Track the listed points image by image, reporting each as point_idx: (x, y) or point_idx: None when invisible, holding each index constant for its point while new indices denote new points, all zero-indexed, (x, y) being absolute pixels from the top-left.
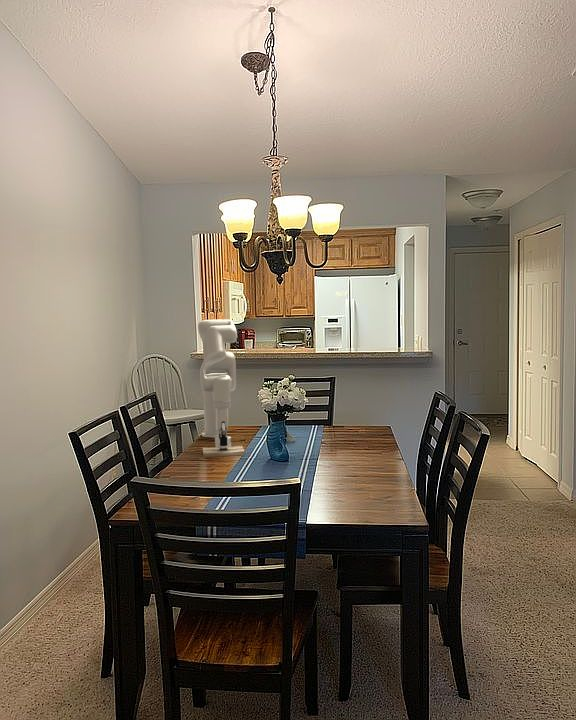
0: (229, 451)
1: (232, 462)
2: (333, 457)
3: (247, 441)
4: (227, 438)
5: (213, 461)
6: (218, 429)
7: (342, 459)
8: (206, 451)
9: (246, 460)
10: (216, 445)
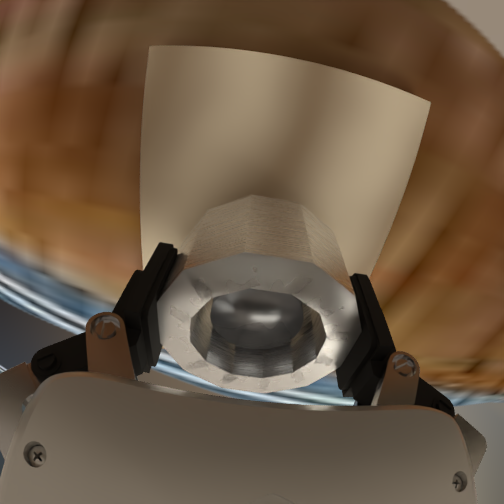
0: None
1: (8, 230)
2: None
3: (445, 380)
4: (189, 360)
5: (26, 125)
6: (37, 396)
7: None
8: (251, 84)
9: (44, 298)
10: (230, 211)
